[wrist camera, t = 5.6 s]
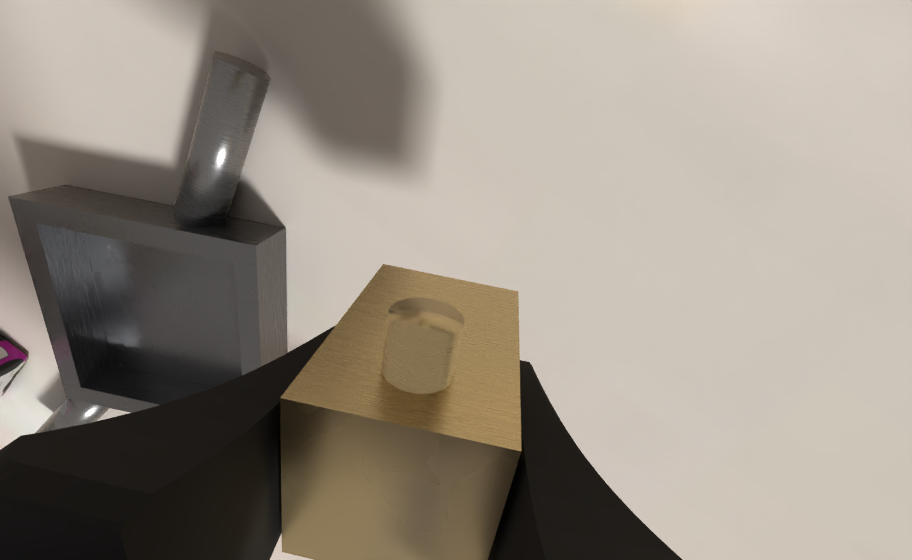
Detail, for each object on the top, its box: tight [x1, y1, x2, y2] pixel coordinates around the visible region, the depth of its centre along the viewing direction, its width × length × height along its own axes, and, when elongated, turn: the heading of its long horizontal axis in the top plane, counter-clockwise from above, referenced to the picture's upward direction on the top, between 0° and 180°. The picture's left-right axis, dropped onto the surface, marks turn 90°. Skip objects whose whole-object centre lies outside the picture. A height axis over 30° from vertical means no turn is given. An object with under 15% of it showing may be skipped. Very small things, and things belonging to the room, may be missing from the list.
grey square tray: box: [9, 185, 287, 413], centre depth 21 cm, size 11×11×2 cm
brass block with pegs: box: [280, 264, 521, 560], centre depth 10 cm, size 6×4×6 cm, turn 171°
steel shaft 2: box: [173, 52, 270, 228], centre depth 18 cm, size 7×2×2 cm, turn 151°
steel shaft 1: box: [36, 398, 109, 433], centre depth 25 cm, size 7×2×2 cm, turn 131°
